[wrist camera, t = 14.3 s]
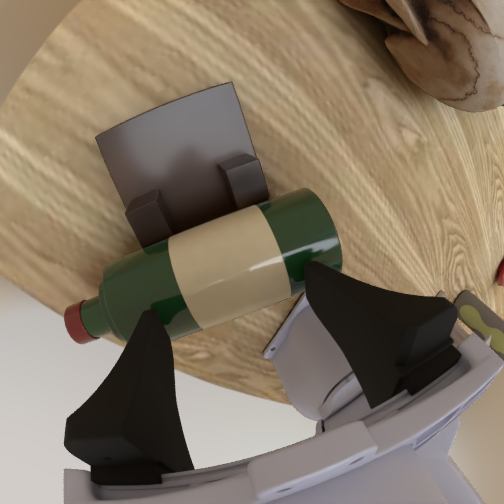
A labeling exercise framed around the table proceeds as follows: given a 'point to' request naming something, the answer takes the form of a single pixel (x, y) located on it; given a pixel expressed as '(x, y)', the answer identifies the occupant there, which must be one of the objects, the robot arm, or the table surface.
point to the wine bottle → (212, 270)
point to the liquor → (501, 274)
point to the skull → (446, 47)
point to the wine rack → (184, 163)
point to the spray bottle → (481, 320)
